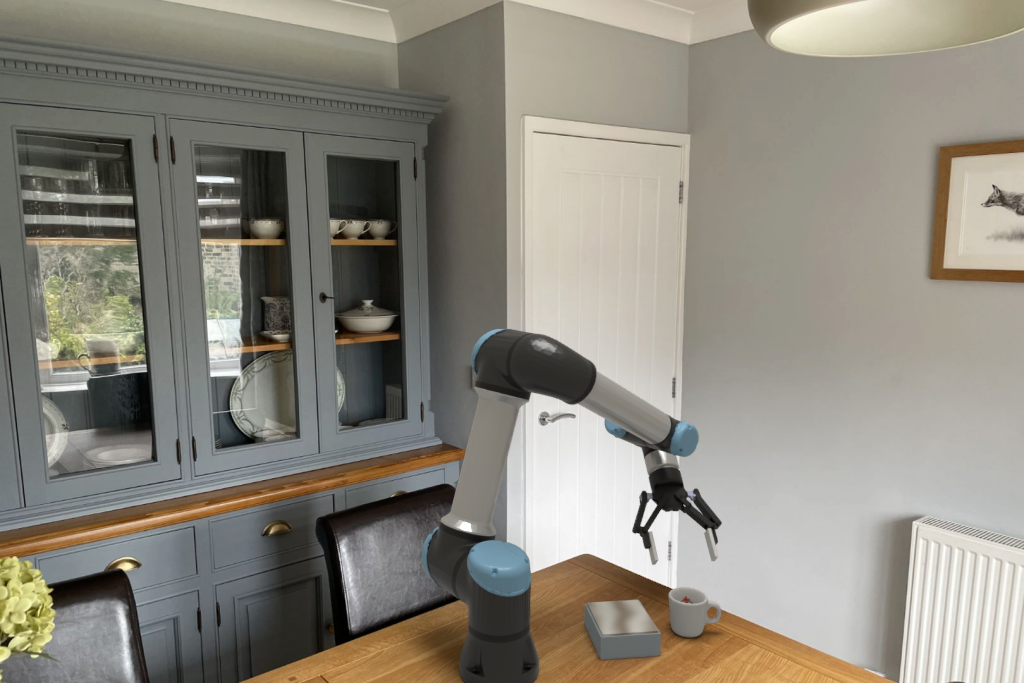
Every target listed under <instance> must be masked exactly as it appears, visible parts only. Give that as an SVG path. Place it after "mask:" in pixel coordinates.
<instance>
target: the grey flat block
mask: <svg viewBox="0 0 1024 683" xmlns="http://www.w3.org/2000/svg"><path fill="white" fill-rule="evenodd" d="M583 615H584V616H583V617H584V618H583V619H584V620H583V622H584V627H585V628H586V631H587V634H588V636H589V638H590V641H592V645H593V646H594V649H595V651H596V653H597V655H598V657H599V660H600V661H604V660H605V661H606V660H618V659H621V660H622V659H632V658H635V659H636V658H646V657H647V658H648V657H659V656H661V643H662V642H661V640H662V639H661V638H662V633H661V631H660V630H659V629H658V628H659V627H657V626H656V624H655V622H654V621H653V620H652V617H651V616H650V615H649V613H648V611H647V610H646V608H645V607H644V605H643V604H642V602H641V601H640V600H639V599H626V600H624V599H623V600H612V601H611V600H609V601H607V600H606V601H594V602H593V601H591V602H587V603H584V614H583Z"/></svg>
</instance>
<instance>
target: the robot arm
mask: <svg viewBox="0 0 1024 683" xmlns="http://www.w3.org/2000/svg"><path fill="white" fill-rule="evenodd" d="M470 355H471V356H470V365H471V368H472V369H473V373H474V375H475V377H476V379H475V383H474V386H473V387H474V390H475V392H476V394H477V395H478V396H477V397H478V401H477V406H476V410H475V413H474V416H473V421H472V425H471V430H470V433H469V437H468V440H467V445H466V448H465V453H464V457H463V461H462V465H461V469H460V473H459V477H458V481H457V485H456V488H455V492H454V497H453V500H452V504H451V508H450V512H449V513H447V514H446V515H444V516H442V517H441V519H440V522H439V526H436V527H435V528H434V529H433V530H432V532H431V533H429V534H428V535H427V536H426V538H425V540H424V543H423V546H422V549H421V563H422V567H423V570H424V572H425V574H426V575H427V577H428V578H429V579H431V581H433V583H434V584H436V586H438V587H439V588H441V589H442V590H445V591H446V592H447V593H450V594H451V595H452V596H453V597H455V598H456V599H458V600H460V601H461V602H462V603H463V604H465V605H467V609H468V610H467V614H468V616H467V618H468V619H467V620H468V625H467V626H468V627H467V629H468V631H467V634H466V637H465V640H464V642H463V646H462V649H461V652H460V654H459V661H458V665H459V666H458V669H459V670H458V671H459V675H460V678H461V679H462V681H463V682H465V683H533V682H535V680H536V679H537V677H538V676H539V673H540V658H539V654H538V651H537V648H536V645H535V642H534V639H533V635H532V633H531V601H532V600H531V599H532V598H531V596H532V594H531V593H532V591H531V590H532V579H533V578H532V571H531V562H530V558H529V556H528V554H527V553H526V551H525V550H524V549H522V548H521V547H520V546H518V545H516V544H514V543H511V542H507V541H506V542H503V541H502V540H496V536H497V530H496V527H494V525H493V523H492V522H493V517H494V513H495V509H496V506H497V502H498V497H499V492H500V489H501V486H502V481H503V477H504V473H505V468H506V465H507V461H508V457H509V453H510V452H509V451H510V448H511V444H512V440H513V436H514V432H515V429H516V425H517V420H518V416H519V413H520V409H521V408H522V406H524V405H526V404H528V403H529V402H530V398H531V395H532V394H538V395H542V396H546V397H551V398H553V399H556V400H560V401H561V402H564V403H565V404H567V405H570V406H574V405H579V406H581V407H583V408H585V409H586V410H588V411H590V412H592V413H594V414H596V415H597V416H599V417H601V418H603V419H604V427H605V430H606V432H608V433H609V434H610V435H611V436H613V437H614V438H615V439H620V440H622V441H624V442H627V443H630V444H633V445H634V446H636V447H637V448H638V447H639V448H640V449H641V451H642V455H643V461H644V464H645V467H646V472H647V475H648V482H649V485H650V489H651V492H647V490H642V491H641V492H640V494H639V506H638V510H637V512H636V516H635V519H634V523H633V526H632V529H631V532H632V534H635V535H636V534H639V536H640V538H642V543H643V547H644V549H645V550H648V554H649V556H650V561H651V562H650V563H651V566H653V565H654V566H655V565H657V563H658V561H659V557H658V551H657V546H656V543H655V538H654V534H653V530H652V531H649V530H650V528H651V526H652V525H653V523H654V522H655V520H656V519H657V517H658V516H659V514H660V512H661V511H664V512H666V513H669V512H679V511H681V513H683V514H686V515H688V516H689V517H690V519H692V520H693V521H694V522H695V523H696V524H697V525H699V526H700V527H701V528H702V529H703V530H705V531H704V533H703V534H704V538H705V542H706V545H707V546H706V547H707V549H708V550H707V551H708V552H709V553H708V554H709V556H710V560H711V561H710V562H716V560H718V558H719V554H718V549H717V546H716V545H718V543H719V540H718V536H717V530H718V529H719V528H721V526H722V524H723V523H722V521H721V519H720V517H718V516H717V514H716V513H715V512H714V510H712V508H711V507H710V506H709V505H708V503H707V502H706V501H705V500H704V499H703V497H702V496H701V493H700V491H699V489H698V488H697V487H696V488H694V489H693V490H690V491H688V490H686V488H685V485H684V480H683V477H682V473H681V471H680V465H679V462H678V457H683V458H687V457H689V456H691V455H692V454H694V452H695V451H696V449H697V446H698V444H699V442H700V440H699V439H700V438H699V437H700V436H699V431H698V429H697V427H696V426H695V425H694V424H692V423H688V422H686V421H684V420H678V419H676V418H674V417H672V416H671V415H669V414H667V413H665V412H664V411H663V410H660V409H659V408H657V407H656V406H654V405H652V404H651V403H650V402H648V401H647V400H645V399H643V398H641V397H640V396H639V395H636V394H635V393H633V392H631V391H630V390H628V389H626V388H625V387H623V386H622V385H620V384H618V383H617V382H615V381H613V380H612V379H610V378H609V377H607V376H606V375H604V374H602V373H601V372H600V371H598V370H597V367H596V366H597V365H595V363H594V362H593V361H591V360H590V359H588V358H586V357H585V356H583V355H582V354H580V353H579V352H577V351H576V350H574V349H573V348H571V347H569V346H568V345H566V344H564V343H562V342H561V341H559V340H558V339H555V338H553V337H551V336H550V335H549V336H548V335H546V334H543V333H535V332H534V333H533V332H528V331H523V330H518V329H512V328H496V329H492V330H490V331H488V332H486V333H485V334H483V335H482V336H480V337H479V339H478V340H477V341H476V343H475V344H474V346H473V349H472V352H471V354H470ZM677 456H678V457H677ZM688 498H689V500H690V501H691V502H693V504H694V505H695V506H696V507H694V506H693V505H692V503H691V502H690V501H689V500H688ZM650 500H651V501H653V502H654V504H656V507H655V508H654V510H653V511H652V513H651V515H650V516H649V518H648V519H647V521H646V522H645V524H644V525H643V526H641V525H642V522H643V518H644V514H645V511H646V508H647V505H648V503H649V502H650Z"/></svg>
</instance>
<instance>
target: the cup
mask: <svg viewBox="0 0 1024 683" xmlns="http://www.w3.org/2000/svg"><path fill="white" fill-rule="evenodd" d="M668 606H669V609H668V610H669V619H670V620H669V621H670V627H671V629H672V631H673V632H674V633H675V634H677V635H678V636H681V637H684V638H697V637H699V636H700V635H702V633H703V631H704V628H705V625H708V624H709V625H712V624H717V623H718V622H719V621H720V619H721V616H722V608H721V606H720V604H719V603H718V602H717V601H714V600H712V599H711V600H710V599H709V598H708V596H707V594H706V593H705V592H704V591H702V590H700V589H697V588H695V587H693V588H692V587H687V586H685V587H684V586H683V587H682V586H681V587H675V588H673V589H671V590H670V591H669V592H668ZM710 608H715V609H716V615H715V616H714V617H713V618H711V617H709V616H708V613H709V610H710Z"/></svg>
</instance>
